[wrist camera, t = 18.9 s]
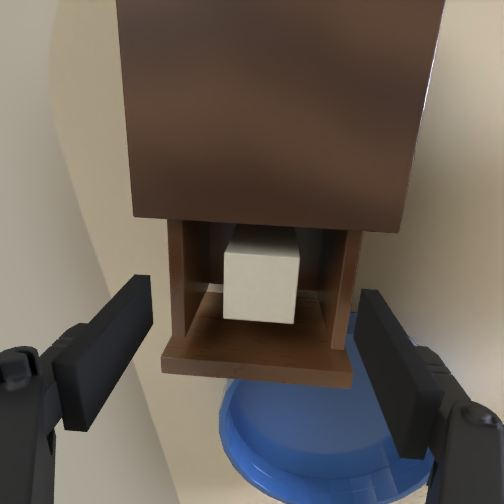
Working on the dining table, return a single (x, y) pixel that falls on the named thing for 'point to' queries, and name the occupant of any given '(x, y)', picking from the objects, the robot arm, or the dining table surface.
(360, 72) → the cabinet
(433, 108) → the dining table surface
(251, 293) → the block
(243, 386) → the bowl
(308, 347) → the drawer
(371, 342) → the robot arm
